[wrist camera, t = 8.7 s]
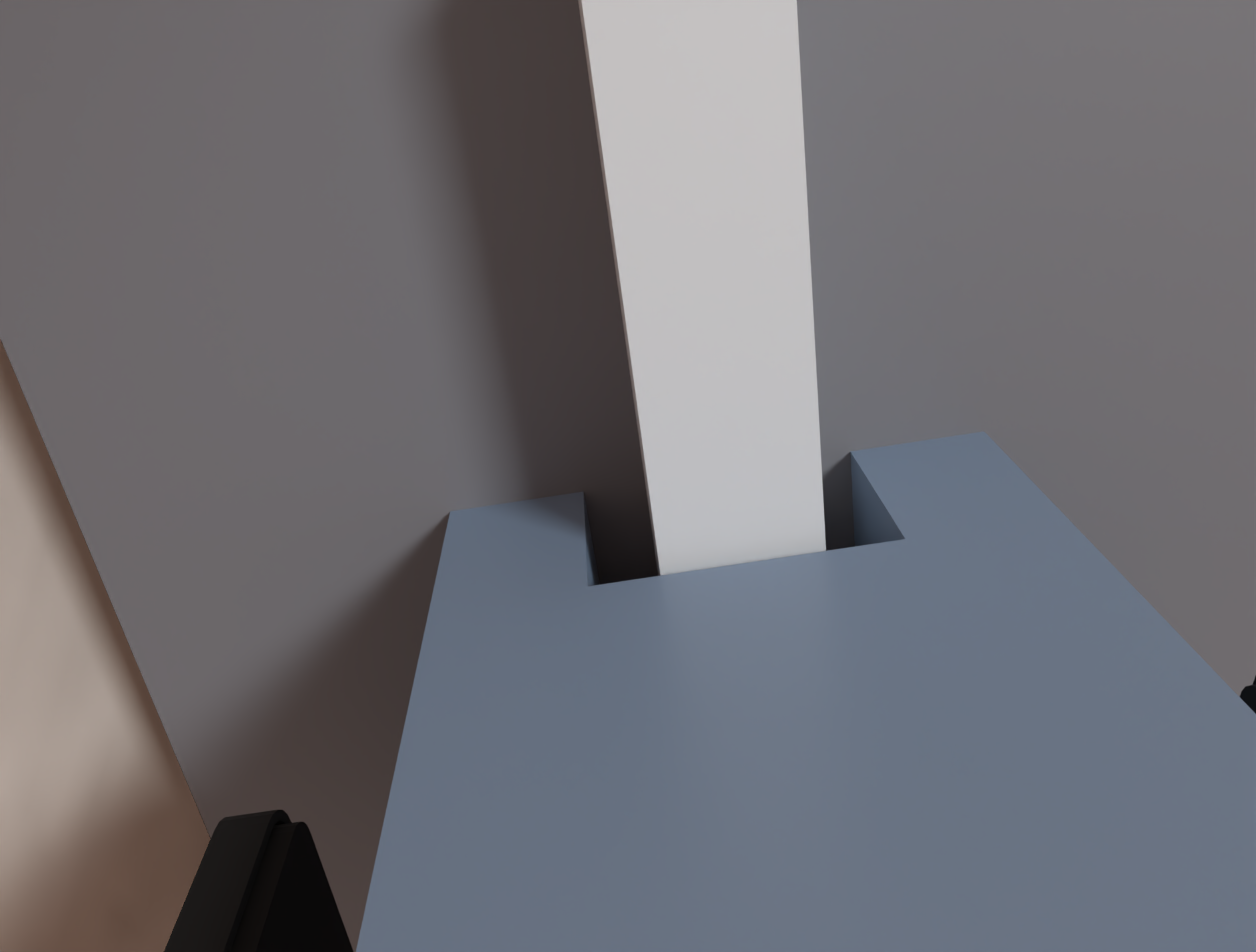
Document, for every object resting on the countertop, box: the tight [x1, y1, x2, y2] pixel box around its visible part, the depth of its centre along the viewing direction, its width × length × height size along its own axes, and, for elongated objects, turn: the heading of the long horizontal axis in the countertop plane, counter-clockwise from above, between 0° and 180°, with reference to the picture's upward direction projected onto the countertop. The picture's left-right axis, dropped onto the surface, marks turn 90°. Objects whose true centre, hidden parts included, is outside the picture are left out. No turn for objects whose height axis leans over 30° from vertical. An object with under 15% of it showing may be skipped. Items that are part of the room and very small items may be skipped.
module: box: [356, 432, 1256, 952], centre depth 9 cm, size 6×6×7 cm
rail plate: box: [0, 0, 1256, 952], centre depth 12 cm, size 20×14×3 cm
